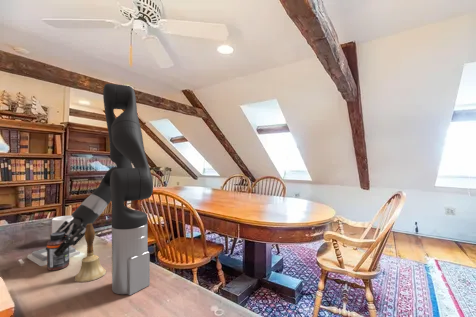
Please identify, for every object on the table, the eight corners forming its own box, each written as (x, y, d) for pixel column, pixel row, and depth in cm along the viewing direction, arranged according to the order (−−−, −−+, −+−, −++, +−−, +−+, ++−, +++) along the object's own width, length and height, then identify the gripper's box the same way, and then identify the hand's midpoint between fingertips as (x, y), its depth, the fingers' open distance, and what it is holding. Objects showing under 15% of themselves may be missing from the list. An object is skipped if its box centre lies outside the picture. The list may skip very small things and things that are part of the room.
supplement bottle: (50, 265, 81) (49, 231, 81) (71, 261, 84) (70, 229, 84) (44, 272, 76) (44, 237, 76) (67, 268, 78) (66, 234, 78)
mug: (45, 240, 105) (45, 217, 105) (66, 235, 112) (66, 213, 112) (57, 246, 99) (56, 221, 99) (79, 240, 106) (78, 216, 106)
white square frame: (79, 254, 90) (79, 248, 90) (40, 266, 80) (40, 259, 80) (65, 247, 97) (65, 242, 97) (27, 258, 87) (27, 252, 87)
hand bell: (69, 283, 69) (68, 228, 69) (81, 270, 77) (81, 221, 77) (100, 280, 71) (100, 226, 71) (109, 268, 79) (109, 219, 79)
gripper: (73, 201, 90) (33, 243, 80) (92, 206, 82) (51, 252, 72) (88, 213, 94) (52, 253, 84) (108, 218, 86) (71, 263, 76)
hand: (52, 252), depth 78 cm, fingers closed on supplement bottle, 6 cm apart
